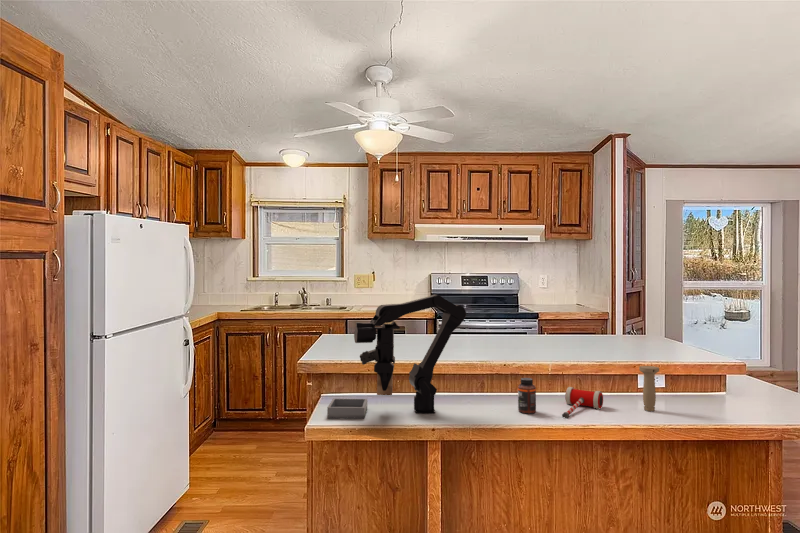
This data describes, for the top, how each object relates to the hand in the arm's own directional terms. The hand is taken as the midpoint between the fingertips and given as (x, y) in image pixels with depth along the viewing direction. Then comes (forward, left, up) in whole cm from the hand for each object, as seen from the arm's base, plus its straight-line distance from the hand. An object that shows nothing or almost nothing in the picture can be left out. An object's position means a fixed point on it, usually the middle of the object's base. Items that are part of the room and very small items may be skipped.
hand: (384, 388), depth 167 cm
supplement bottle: (-49, -4, -9) cm, 49 cm away
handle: (-92, -7, -9) cm, 92 cm away
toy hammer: (-68, -8, -9) cm, 69 cm away
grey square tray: (+12, 0, -8) cm, 15 cm away
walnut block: (0, 0, -2) cm, 2 cm away
